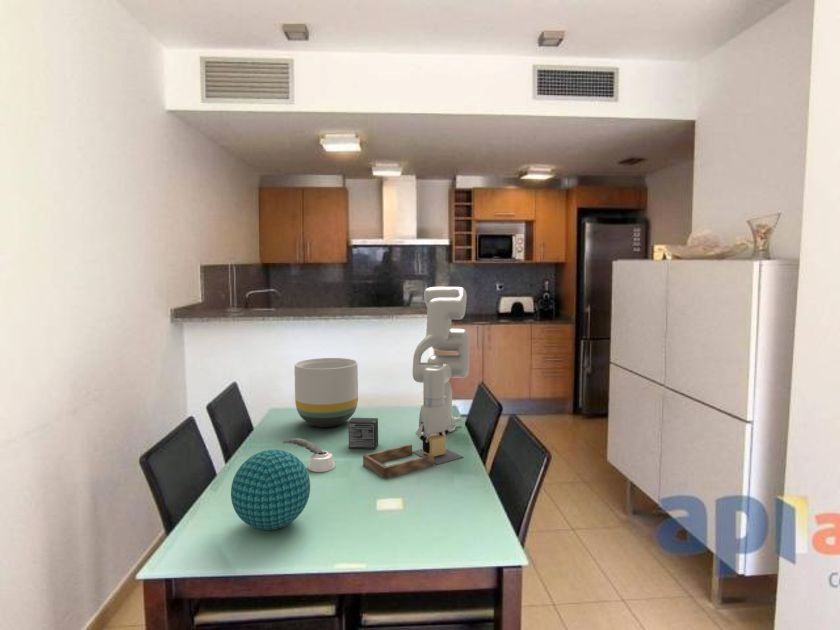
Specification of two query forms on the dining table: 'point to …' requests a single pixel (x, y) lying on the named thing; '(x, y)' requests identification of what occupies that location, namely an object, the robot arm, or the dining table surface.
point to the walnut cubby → (389, 471)
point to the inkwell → (315, 456)
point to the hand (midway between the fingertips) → (433, 449)
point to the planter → (326, 390)
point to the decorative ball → (270, 489)
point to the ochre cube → (436, 445)
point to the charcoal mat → (440, 456)
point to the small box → (363, 433)
